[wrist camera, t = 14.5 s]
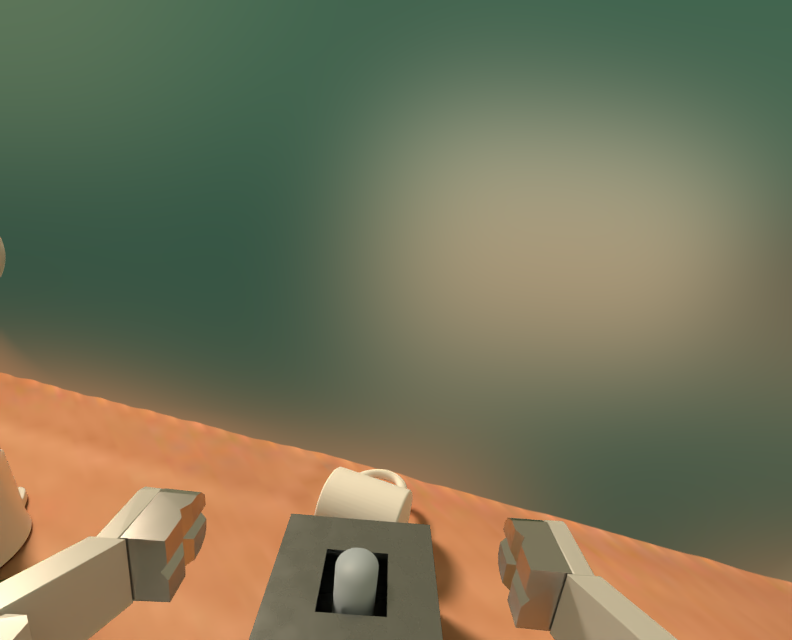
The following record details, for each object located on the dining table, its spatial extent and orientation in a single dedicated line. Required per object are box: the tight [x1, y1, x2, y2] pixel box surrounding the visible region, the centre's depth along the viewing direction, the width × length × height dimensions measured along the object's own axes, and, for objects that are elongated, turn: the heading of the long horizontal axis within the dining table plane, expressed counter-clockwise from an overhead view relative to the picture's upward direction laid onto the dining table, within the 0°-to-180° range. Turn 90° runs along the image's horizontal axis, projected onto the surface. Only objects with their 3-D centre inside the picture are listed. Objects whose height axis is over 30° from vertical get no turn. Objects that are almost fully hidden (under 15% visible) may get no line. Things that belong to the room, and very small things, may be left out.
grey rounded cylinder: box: [332, 548, 379, 616], centre depth 33 cm, size 4×4×11 cm
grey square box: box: [249, 514, 443, 640], centre depth 33 cm, size 14×13×10 cm
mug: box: [314, 467, 412, 523], centre depth 49 cm, size 12×10×8 cm
